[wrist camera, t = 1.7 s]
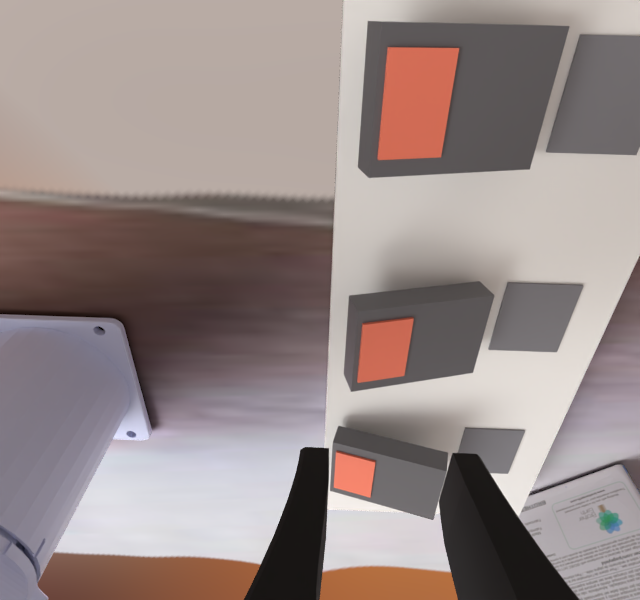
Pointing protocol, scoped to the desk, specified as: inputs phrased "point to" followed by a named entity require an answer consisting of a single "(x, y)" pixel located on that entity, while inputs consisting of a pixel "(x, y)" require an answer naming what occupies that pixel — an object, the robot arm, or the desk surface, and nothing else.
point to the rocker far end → (387, 471)
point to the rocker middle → (414, 334)
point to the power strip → (495, 244)
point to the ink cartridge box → (591, 533)
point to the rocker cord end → (455, 96)
